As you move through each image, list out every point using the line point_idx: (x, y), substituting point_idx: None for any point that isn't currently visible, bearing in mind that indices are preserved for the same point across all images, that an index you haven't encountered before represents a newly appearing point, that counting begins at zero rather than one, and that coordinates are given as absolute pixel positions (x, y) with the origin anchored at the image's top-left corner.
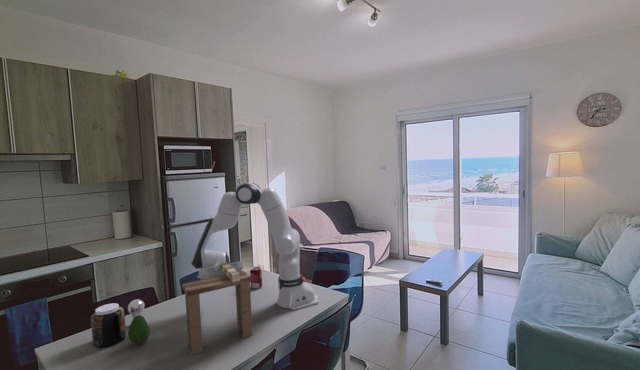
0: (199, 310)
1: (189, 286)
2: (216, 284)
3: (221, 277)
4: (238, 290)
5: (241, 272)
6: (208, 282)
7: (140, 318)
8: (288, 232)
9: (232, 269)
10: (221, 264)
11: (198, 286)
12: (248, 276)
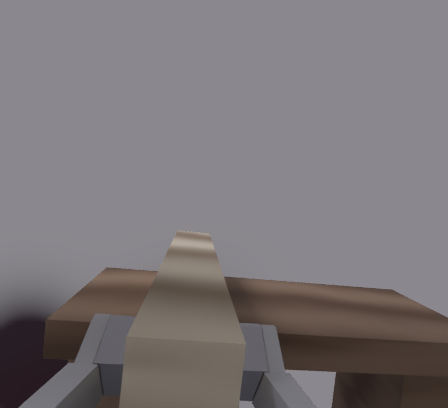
0: (337, 377)
1: (414, 311)
2: (274, 282)
3: (243, 312)
4: None
5: (88, 306)
6: (319, 303)
7: None
8: None
9: (184, 244)
10: (229, 297)
11: (359, 297)
12: (109, 272)
